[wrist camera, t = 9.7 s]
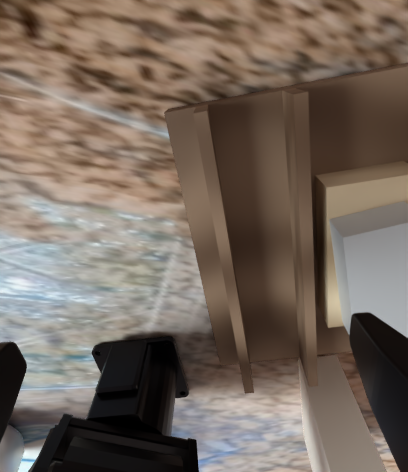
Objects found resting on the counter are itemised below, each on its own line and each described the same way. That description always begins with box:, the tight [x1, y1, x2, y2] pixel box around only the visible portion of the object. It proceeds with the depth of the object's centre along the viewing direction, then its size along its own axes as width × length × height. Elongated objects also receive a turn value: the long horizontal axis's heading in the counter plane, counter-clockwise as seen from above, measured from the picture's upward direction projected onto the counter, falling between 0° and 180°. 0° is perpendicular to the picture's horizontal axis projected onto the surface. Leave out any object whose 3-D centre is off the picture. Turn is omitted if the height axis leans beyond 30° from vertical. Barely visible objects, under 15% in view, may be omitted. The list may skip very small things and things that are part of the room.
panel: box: [298, 355, 387, 472], centre depth 23 cm, size 10×3×11 cm, turn 10°
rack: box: [164, 63, 408, 393], centre depth 19 cm, size 18×14×4 cm
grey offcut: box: [329, 201, 408, 338], centre depth 17 cm, size 7×4×2 cm, turn 16°
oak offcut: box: [315, 161, 408, 328], centre depth 19 cm, size 9×4×2 cm, turn 10°
